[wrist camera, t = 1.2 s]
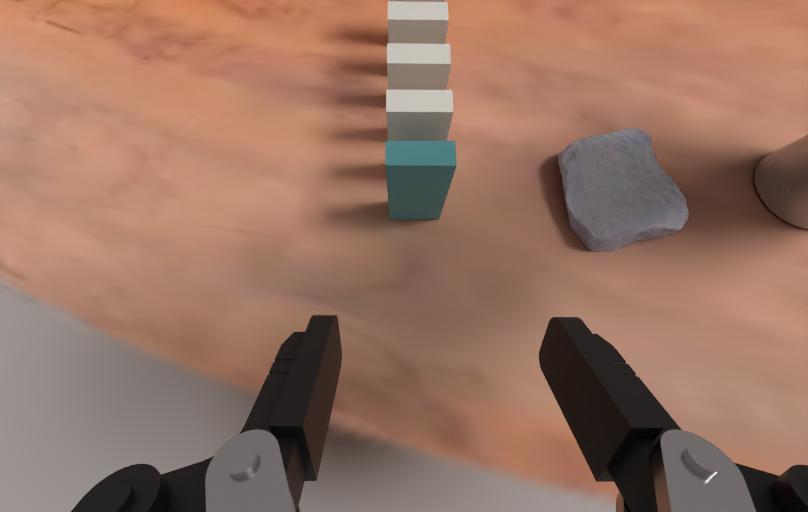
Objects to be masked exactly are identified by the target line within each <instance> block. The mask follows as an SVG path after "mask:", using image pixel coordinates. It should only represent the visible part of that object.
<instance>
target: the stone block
mask: <svg viewBox="0 0 808 512" xmlns="http://www.w3.org/2000/svg"><path fill="white" fill-rule="evenodd" d="M558 164H559V166H560V172H561V175H562V181H563V182H562V185H563V190H564V193H565V196H564V197H565V201H566V207H567V213H568V217H569V225H570V228H571V229H572V230H573V231H574V232H575V233H576V235H577V236H578V237H579V239H580V240H581V241H582V242H583V243H584V245H585V246H586V247H587V248H588V249H590V250H591V251H595V252H598V251H616V250H618V249H620V248H622V247H624V246H628V245H629V244H631V243H634V242H641V241H645V240H651V239H655V238H660V237H661V236H666V235H669V234H671V233H673V232H677V231H679V230H680V229H681V228H682V227H683V226H684V223H685V222H686V221H687V220H688V214H689V212H688V208H687V206H686V199H685V198H684V196H683V194H682V192H681V191H680V190H679V188H678V186H677V184H676V183H675V182H674V180H673V179H672V178H671V177H670V176H669V175H668V174H666V173H665V172H664V171H663V170H662V169H661V167H660V166H659V165H658V163H657V161H656V157H655V155H654V153H653V152H652V145H651V138H650V136H649V134H648V133H646V132H644V131H642V130H639V129H624V130H619V131H616V132H611V133H606V134H600V135H595V136H592V137H588V138H584V139H580V140H578V141H575V142H573V143H572V144H570V145H569V146H568V147H567V148H566V149H565V150H564V151H563V152H561V153H559V155H558Z"/></svg>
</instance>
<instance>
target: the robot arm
mask: <svg viewBox="0 0 808 512" xmlns="http://www.w3.org/2000/svg"><path fill="white" fill-rule="evenodd" d="M755 184H756V189H757V191H758V193H759V195H760V197H761V199H762V200H763V202H764V203H765V205H766V206H767V207H768V208H769V209H770V210H771V211H772V212H773V213H774V214H776V215H777V216H778V217H780V218H781V219H783V220H784V221H786V222H788V223H790V224H792V225H795V226H798V227H800V228H806V229H808V135H807V136H805V137H803V138H801V139H799V140H797V141H795V142H793V143H791V144H789V145H787V146H785V147H783V148H781V149H779V150H777V151H775V152H773V153H771V154H769V155H767V156H765V157H764V158H763V159H762V160H760V162H759V163H758V165H757V167H756V170H755ZM341 360H342V350H341V341H340V333H339V325H338V318H337V316H336V315H313V316H312V317H311V319H310V321H309V324H308V327H307V329H306V332H294V333H293V334H292V335H291V336H290V337H289V338H288V339H287V340H286V341H285V342H284V343H283V344H282V345H281V347H280V350H279V352H278V354H277V356H276V358H275V362H274V363H273V365H272V367H271V369H270V371H269V375H268V376H267V378H266V380H265V382H264V384H263V387H262V389H261V391H260V393H259V395H258V397H257V400H256V402H255V404H254V406H253V408H252V411H251V413H250V415H249V417H248V419H247V421H246V424H245V425H244V427H243V429H242V431H241V432H240V434H239V435H237V436H235V437H233V438H232V439H230V440H229V441H228V442H227V443H225V444H224V445H223V446H222V447H221V448H220V449H219V450H218V452H217V453H216V454H215V456H213V457H211V458H209V459H207V460H204V461H202V462H199V463H196V464H193V465H190V466H187V467H184V468H180V469H177V470H174V471H171V472H168V473H165V474H162V475H161V474H160V473H159V472H158V470H157V469H156V468H155V467H153V466H151V465H148V464H136V465H131V466H129V467H125V468H123V469H121V470H118V471H116V472H114V473H113V474H111V475H109V476H108V477H106V478H105V479H103V480H102V481H101V482H99V483H98V484H97V485H95V486H94V487H93V488H92V489H91V490H90V491H89V492H88V493H87V494H86V495H85V496H84V497H83V498H82V499H81V500H80V501H79V503H78V504H77V505H76V506H75V508H74V509H73V510H72V511H71V512H300V508H299V501H300V497H301V493H302V488H303V484H304V481H316V480H317V476H318V472H319V467H320V462H321V457H322V453H323V448H324V444H325V439H326V434H327V429H328V425H329V420H330V415H331V411H332V406H333V401H334V397H335V392H336V387H337V383H338V378H339V373H340V368H341ZM539 362H540V367H541V370H542V372H543V374H544V376H545V378H546V380H547V382H548V384H549V386H550V388H551V390H552V392H553V394H554V396H555V398H556V400H557V402H558V404H559V406H560V409H561V411H562V413H563V415H564V417H565V419H566V421H567V423H568V425H569V427H570V429H571V431H572V433H573V435H574V437H575V439H576V441H577V443H578V445H579V447H580V449H581V451H582V453H583V455H584V457H585V459H586V461H587V463H588V465H589V467H590V469H591V471H592V473H593V475H594V478H595V480H596V481H614V482H615V484H616V486H617V487H618V489H619V491H620V492H619V493H618V495H617V498H616V512H808V466H806V465H795V466H792V467H790V468H789V469H788V470H787V471H785V472H784V473H783V474H782V475H780V476H777V475H774V474H771V473H767V472H764V471H760V470H757V469H754V468H750V467H747V466H743V465H740V464H737V463H734V462H733V461H732V460H731V459H730V458H729V457H728V456H727V455H726V454H725V453H724V452H722V451H721V450H720V449H719V448H717V447H716V446H715V445H713V444H712V443H710V442H709V441H707V440H705V439H704V438H702V437H700V436H698V435H695V434H693V433H690V432H687V431H683V430H681V428H680V427H679V426H678V425H677V424H676V423H675V421H674V420H673V419H672V418H671V416H670V415H669V414H668V413H667V411H666V410H665V409H664V408H663V407H662V405H661V404H660V403H659V402H658V400H657V399H656V398H655V397H654V395H653V394H652V393H651V392H650V391H649V389H648V388H647V387H646V386H645V384H644V383H643V382H642V381H641V380H640V378H639V377H636V373H635V372H634V371H633V370H632V368H631V367H630V366H629V365H628V364H626V361H625V360H624V359H623V357H622V356H621V355H620V354H619V352H618V351H617V350H616V349H615V348H614V346H612V345H611V344H610V343H608V342H607V341H606V340H604V339H603V338H602V337H600V336H599V335H598V334H592V333H591V331H590V330H589V329H588V328H587V326H586V325H585V324H584V322H583V321H582V320H581V319H580V318H577V317H553V318H551V319H550V321H549V324H548V327H547V330H546V333H545V336H544V339H543V342H542V345H541V348H540V351H539Z"/></svg>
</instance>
